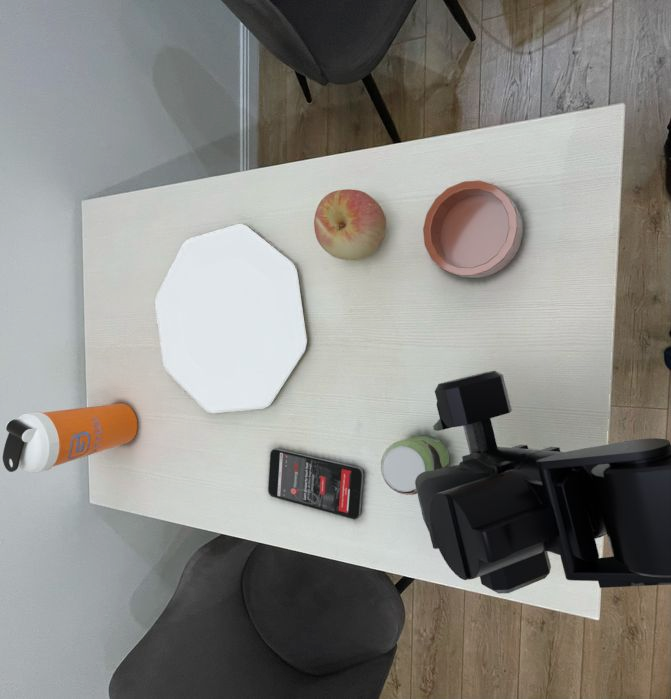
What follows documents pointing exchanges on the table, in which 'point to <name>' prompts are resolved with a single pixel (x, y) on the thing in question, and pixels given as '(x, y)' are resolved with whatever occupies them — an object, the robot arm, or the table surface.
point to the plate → (231, 320)
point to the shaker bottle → (66, 435)
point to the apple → (349, 224)
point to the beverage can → (412, 461)
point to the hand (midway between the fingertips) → (447, 470)
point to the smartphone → (316, 483)
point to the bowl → (473, 229)
